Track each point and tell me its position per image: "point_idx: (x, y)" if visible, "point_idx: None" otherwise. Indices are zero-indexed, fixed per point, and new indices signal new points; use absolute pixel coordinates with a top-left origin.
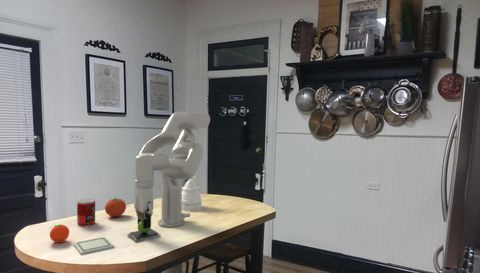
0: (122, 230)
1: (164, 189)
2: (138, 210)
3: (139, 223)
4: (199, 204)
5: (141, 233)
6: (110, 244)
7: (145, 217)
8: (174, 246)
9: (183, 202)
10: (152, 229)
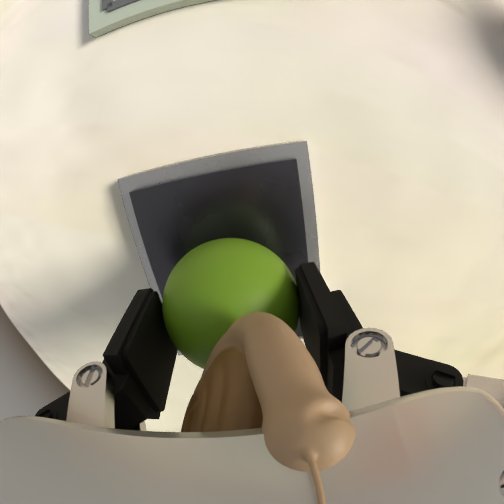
0: (440, 150)
1: None
2: (135, 440)
3: (212, 282)
4: None
5: None
6: (111, 8)
7: (73, 385)
8: (43, 347)
9: None
10: None
